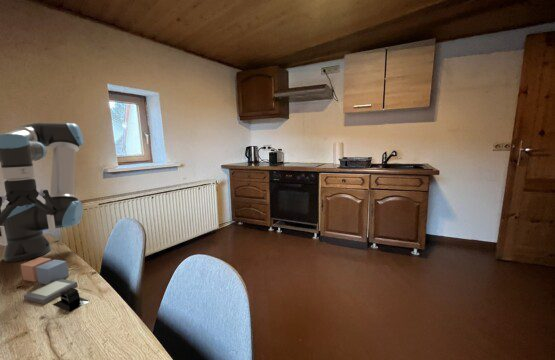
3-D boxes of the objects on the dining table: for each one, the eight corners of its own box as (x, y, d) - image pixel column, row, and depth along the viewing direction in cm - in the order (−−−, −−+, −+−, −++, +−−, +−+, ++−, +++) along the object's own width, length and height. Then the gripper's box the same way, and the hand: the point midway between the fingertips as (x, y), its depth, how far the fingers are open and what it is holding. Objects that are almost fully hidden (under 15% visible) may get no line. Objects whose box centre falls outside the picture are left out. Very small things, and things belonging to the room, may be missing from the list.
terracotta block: (42, 271, 96) (40, 257, 95) (53, 273, 94) (51, 258, 93) (23, 279, 90) (20, 264, 89) (34, 282, 89) (31, 266, 88)
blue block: (57, 274, 94) (54, 259, 93) (68, 276, 92) (66, 261, 91) (38, 282, 88) (35, 267, 87) (50, 285, 86) (47, 269, 85)
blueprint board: (58, 282, 88) (58, 278, 88) (77, 285, 86) (76, 281, 85) (24, 299, 78) (23, 295, 78) (43, 303, 76) (43, 299, 76)
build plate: (46, 306, 76) (43, 293, 75) (73, 293, 82) (71, 280, 82) (70, 317, 71) (67, 303, 70) (96, 301, 78) (94, 288, 77)
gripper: (-29, 185, 72) (-15, 253, 75) (67, 175, 95) (75, 227, 98) (-42, 184, 74) (-28, 250, 77) (55, 174, 98) (63, 226, 101)
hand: (29, 237), depth 88 cm, fingers open, 13 cm apart
